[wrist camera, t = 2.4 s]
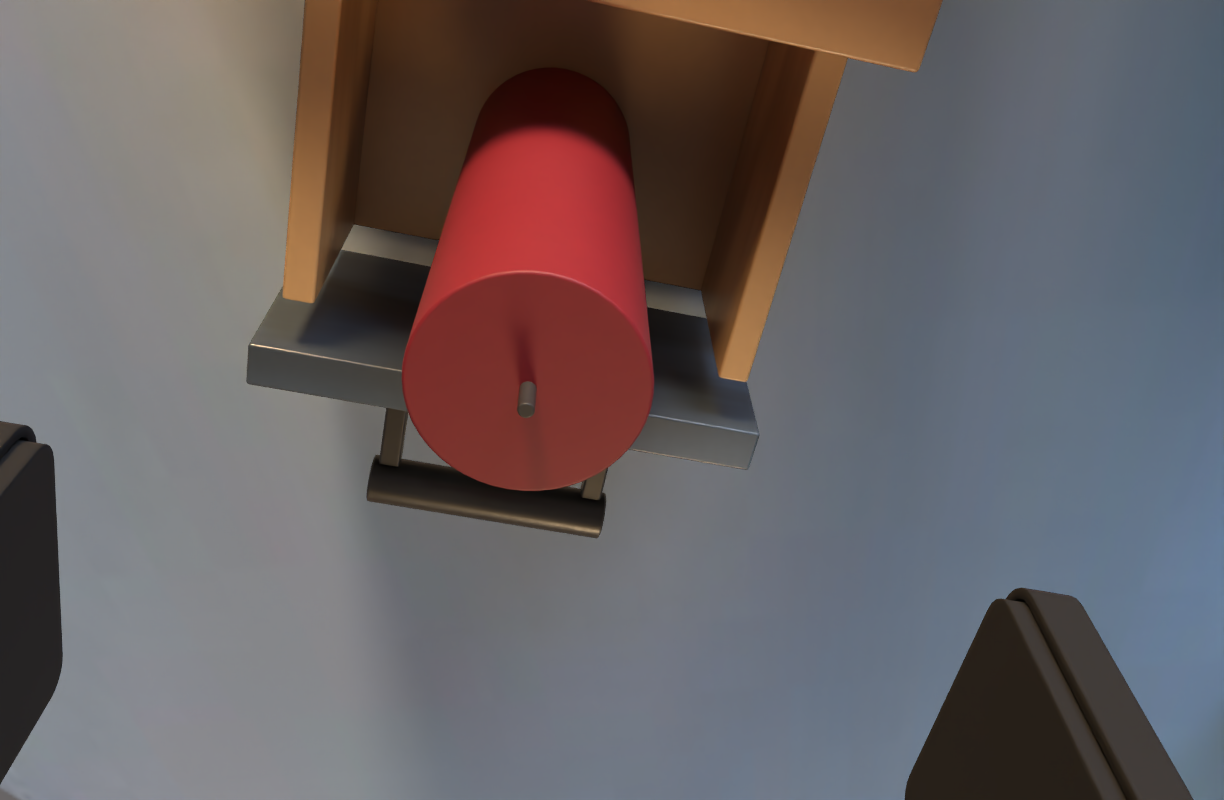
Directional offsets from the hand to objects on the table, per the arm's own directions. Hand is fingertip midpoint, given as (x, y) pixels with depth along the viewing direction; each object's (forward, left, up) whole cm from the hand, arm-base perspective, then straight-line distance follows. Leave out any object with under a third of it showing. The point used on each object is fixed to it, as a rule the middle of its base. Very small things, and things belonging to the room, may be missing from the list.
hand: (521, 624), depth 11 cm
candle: (-1, -2, -23) cm, 23 cm away
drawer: (-2, -3, -24) cm, 24 cm away
